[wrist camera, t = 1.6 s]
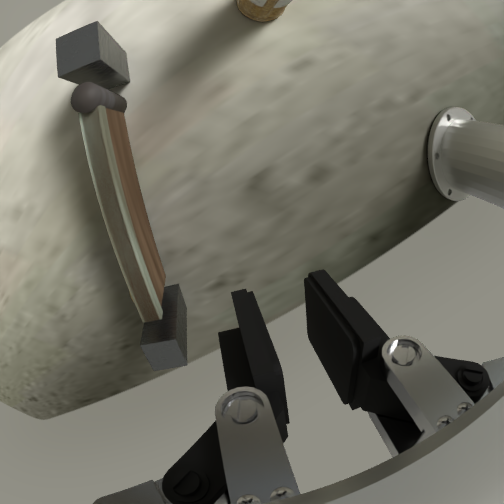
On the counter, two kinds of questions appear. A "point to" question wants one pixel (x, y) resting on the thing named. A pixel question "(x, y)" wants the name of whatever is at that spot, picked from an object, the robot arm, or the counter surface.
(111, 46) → the grey rectangular blocks
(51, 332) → the counter surface
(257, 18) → the sprinkles bottle
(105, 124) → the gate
